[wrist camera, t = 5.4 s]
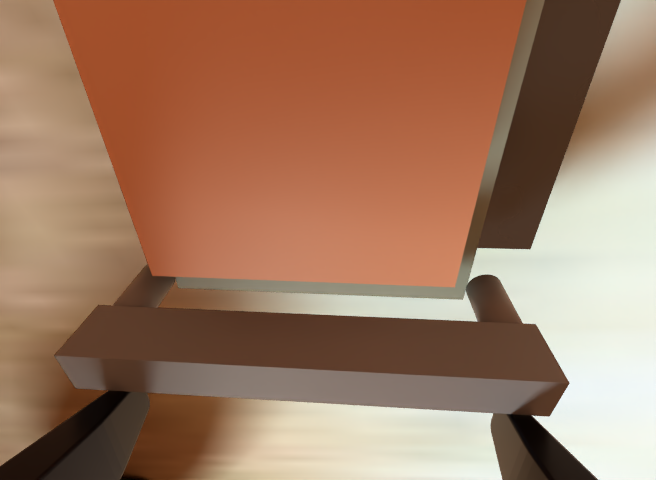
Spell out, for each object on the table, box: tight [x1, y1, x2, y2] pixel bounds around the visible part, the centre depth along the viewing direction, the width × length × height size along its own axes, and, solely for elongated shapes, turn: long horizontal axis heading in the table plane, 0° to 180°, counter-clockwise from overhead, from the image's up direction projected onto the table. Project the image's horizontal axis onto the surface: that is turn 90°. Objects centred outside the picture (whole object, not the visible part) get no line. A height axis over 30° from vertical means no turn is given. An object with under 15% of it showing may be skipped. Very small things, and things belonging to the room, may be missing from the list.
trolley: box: [53, 0, 569, 416], centre depth 8 cm, size 10×11×6 cm
